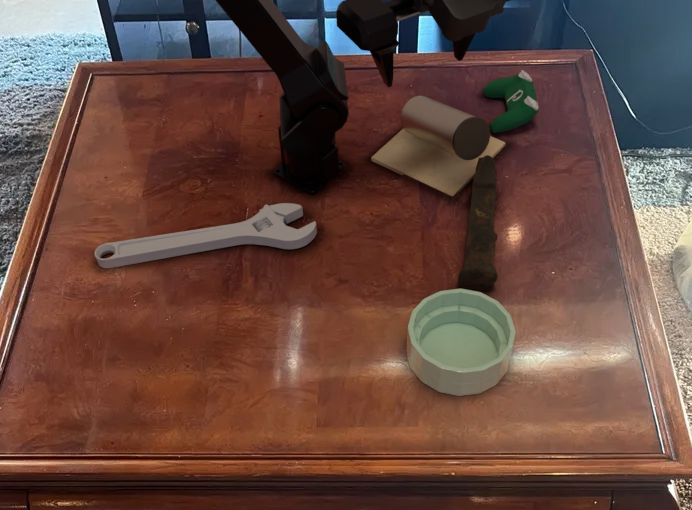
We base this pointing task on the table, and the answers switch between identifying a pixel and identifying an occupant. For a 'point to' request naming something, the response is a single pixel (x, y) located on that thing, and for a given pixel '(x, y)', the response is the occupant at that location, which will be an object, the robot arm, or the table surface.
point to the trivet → (431, 162)
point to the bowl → (460, 341)
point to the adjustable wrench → (214, 238)
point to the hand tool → (481, 230)
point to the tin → (446, 127)
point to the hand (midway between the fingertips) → (423, 71)
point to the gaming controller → (513, 101)
